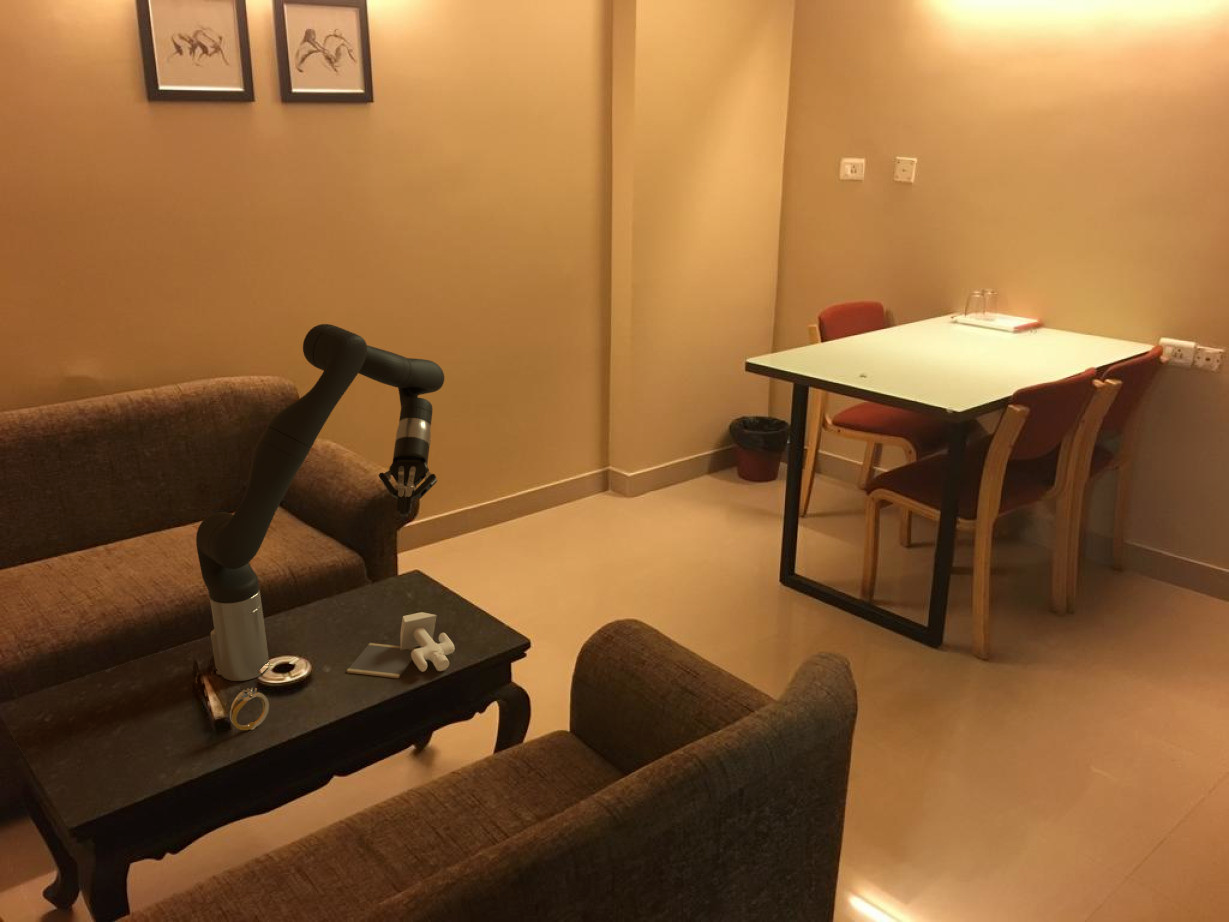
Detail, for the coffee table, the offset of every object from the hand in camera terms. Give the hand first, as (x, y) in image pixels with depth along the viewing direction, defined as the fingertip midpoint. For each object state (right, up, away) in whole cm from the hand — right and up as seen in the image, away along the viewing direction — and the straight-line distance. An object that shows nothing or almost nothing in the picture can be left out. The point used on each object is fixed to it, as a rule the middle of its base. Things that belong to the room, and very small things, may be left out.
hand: (403, 515), depth 209 cm
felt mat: (-2, -29, -9) cm, 31 cm away
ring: (-21, -37, -31) cm, 53 cm away
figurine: (+2, -22, -3) cm, 23 cm away
